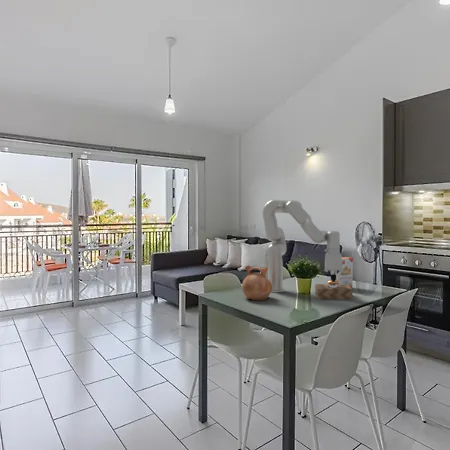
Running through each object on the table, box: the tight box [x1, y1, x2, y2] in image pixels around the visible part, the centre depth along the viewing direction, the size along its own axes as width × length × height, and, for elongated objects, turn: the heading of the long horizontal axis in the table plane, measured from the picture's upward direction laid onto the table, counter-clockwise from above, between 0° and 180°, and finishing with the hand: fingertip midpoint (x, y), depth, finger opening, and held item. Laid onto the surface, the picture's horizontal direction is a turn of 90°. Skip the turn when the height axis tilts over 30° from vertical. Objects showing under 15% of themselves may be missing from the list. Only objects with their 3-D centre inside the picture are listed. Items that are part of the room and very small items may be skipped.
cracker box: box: [332, 256, 354, 289], centre depth 239 cm, size 14×6×21 cm, turn 120°
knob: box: [326, 279, 339, 288], centre depth 217 cm, size 7×7×7 cm
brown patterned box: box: [314, 283, 353, 301], centre depth 217 cm, size 20×14×6 cm
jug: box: [241, 264, 272, 301], centre depth 213 cm, size 18×18×20 cm
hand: (333, 281), depth 217 cm, fingers closed
